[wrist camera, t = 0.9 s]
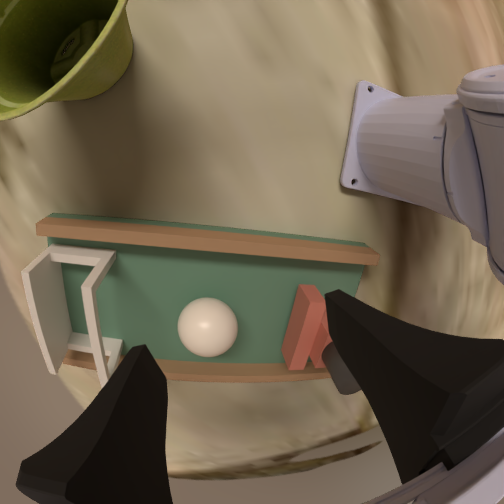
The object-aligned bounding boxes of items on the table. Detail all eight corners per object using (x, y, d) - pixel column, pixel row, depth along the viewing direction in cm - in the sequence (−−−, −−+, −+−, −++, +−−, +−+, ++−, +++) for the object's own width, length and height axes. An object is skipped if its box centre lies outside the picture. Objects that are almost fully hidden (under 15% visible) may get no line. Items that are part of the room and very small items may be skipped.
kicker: (343, 285, 21) (391, 342, 14) (321, 346, 23) (354, 408, 16) (297, 282, 20) (337, 347, 14) (280, 348, 22) (305, 416, 16)
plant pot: (87, -12, 10) (40, -66, 2) (188, 27, 14) (181, -44, 6) (16, 95, 13) (-63, 90, 5) (107, 146, 16) (37, 157, 8)
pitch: (363, 242, 21) (380, 255, 19) (323, 359, 26) (332, 377, 23) (52, 213, 16) (35, 223, 14) (71, 345, 21) (63, 363, 18)
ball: (237, 288, 20) (246, 322, 16) (230, 333, 21) (237, 370, 18) (180, 284, 19) (176, 318, 15) (178, 330, 20) (175, 367, 17)
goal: (116, 249, 17) (91, 287, 13) (123, 345, 20) (110, 392, 16) (52, 243, 16) (16, 276, 12) (67, 336, 19) (47, 378, 15)
